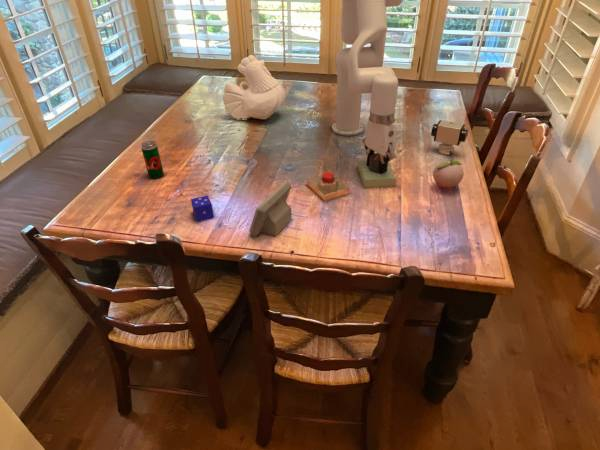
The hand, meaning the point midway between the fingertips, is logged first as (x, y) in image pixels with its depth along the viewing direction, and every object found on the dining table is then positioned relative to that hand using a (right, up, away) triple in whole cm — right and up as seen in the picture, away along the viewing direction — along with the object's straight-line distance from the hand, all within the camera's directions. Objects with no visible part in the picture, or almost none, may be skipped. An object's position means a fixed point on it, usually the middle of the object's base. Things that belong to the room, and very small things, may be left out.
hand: (376, 168), depth 144 cm
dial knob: (0, 0, 0) cm, 0 cm away
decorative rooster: (-44, +28, +44) cm, 68 cm away
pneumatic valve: (+28, +8, +15) cm, 33 cm away
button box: (-16, -7, -4) cm, 18 cm away
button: (-16, -4, -6) cm, 18 cm away
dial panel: (0, -3, +2) cm, 3 cm away
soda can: (-75, -2, +5) cm, 75 cm away
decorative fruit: (+22, -7, -4) cm, 23 cm away
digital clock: (-34, -19, -18) cm, 42 cm away
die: (-54, -16, -14) cm, 58 cm away
